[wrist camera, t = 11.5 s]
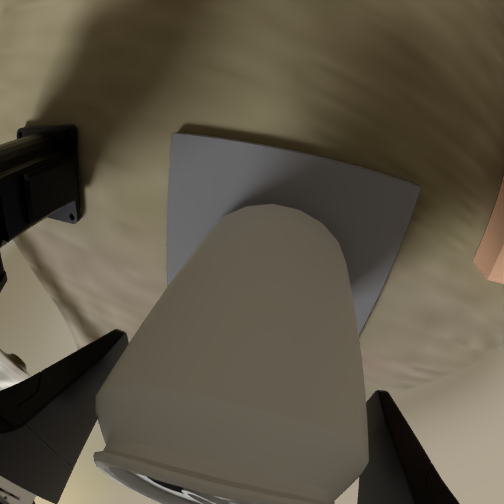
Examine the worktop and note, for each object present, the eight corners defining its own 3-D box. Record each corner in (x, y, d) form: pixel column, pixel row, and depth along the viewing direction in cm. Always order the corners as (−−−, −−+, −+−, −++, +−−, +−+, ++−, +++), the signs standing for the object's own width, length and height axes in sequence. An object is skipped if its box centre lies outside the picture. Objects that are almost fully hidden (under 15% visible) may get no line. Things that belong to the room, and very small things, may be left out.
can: (223, 175, 13) (18, 394, 3) (370, 232, 13) (441, 503, 3) (191, 294, 17) (93, 478, 6) (308, 336, 17) (286, 537, 6)
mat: (172, 315, 19) (168, 321, 18) (177, 132, 13) (172, 133, 12) (343, 354, 18) (343, 361, 17) (416, 184, 12) (421, 187, 11)
